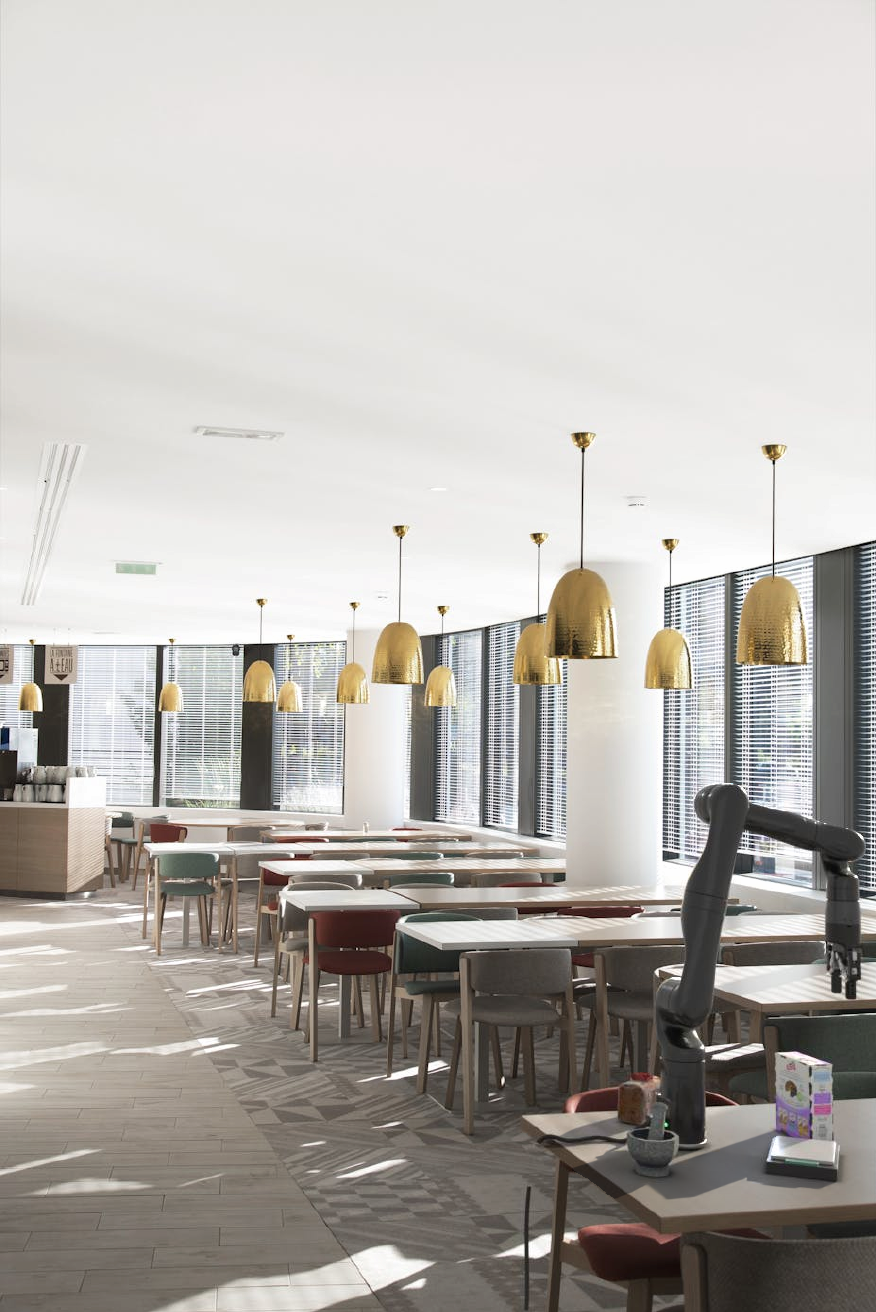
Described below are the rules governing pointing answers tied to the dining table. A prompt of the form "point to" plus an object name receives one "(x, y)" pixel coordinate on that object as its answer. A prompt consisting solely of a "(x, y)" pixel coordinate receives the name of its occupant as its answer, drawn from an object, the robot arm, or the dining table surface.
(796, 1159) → the scale
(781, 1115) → the candy box
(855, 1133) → the dining table surface
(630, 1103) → the food item
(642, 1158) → the mortar and pestle
